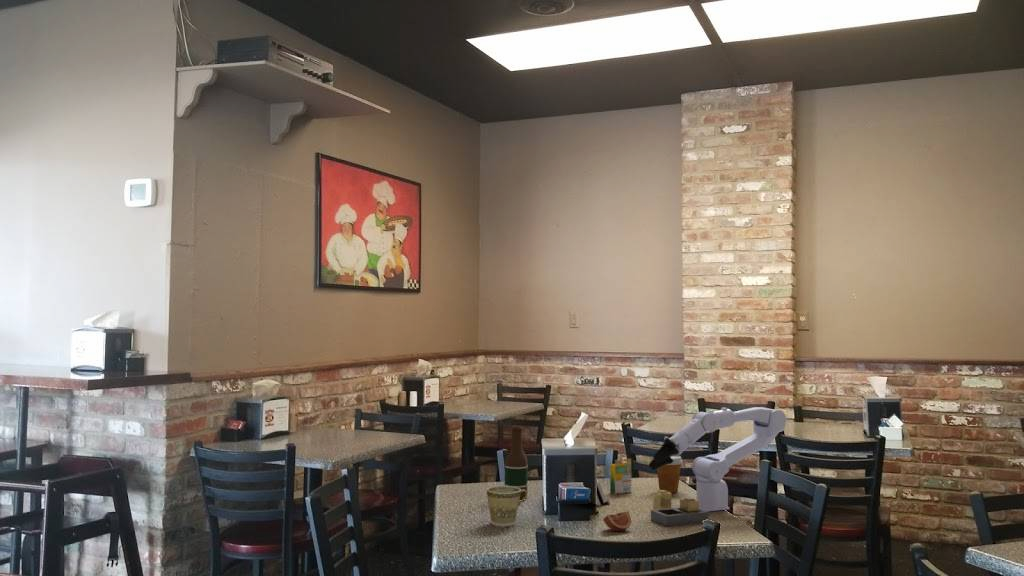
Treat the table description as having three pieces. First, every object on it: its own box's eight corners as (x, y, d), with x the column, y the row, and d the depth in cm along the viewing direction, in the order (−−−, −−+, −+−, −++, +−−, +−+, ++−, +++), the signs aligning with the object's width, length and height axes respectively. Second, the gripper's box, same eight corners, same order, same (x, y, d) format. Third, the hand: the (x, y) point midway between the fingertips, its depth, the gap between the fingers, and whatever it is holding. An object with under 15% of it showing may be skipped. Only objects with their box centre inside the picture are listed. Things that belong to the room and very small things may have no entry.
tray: (692, 515, 244) (692, 494, 244) (708, 522, 237) (708, 500, 237) (650, 520, 238) (651, 498, 238) (666, 526, 231) (666, 504, 231)
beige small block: (663, 509, 252) (664, 489, 252) (671, 512, 248) (671, 491, 248) (653, 510, 250) (653, 490, 250) (660, 513, 246) (660, 492, 247)
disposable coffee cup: (651, 488, 283) (651, 454, 283) (677, 487, 284) (677, 454, 284) (659, 494, 273) (659, 459, 274) (686, 493, 274) (686, 458, 275)
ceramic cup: (497, 530, 225) (498, 494, 225) (479, 522, 233) (480, 488, 233) (535, 524, 232) (536, 489, 232) (517, 516, 240) (517, 483, 240)
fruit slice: (613, 535, 221) (613, 517, 221) (597, 529, 227) (597, 512, 227) (635, 531, 226) (635, 513, 226) (619, 525, 231) (619, 508, 232)
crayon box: (626, 490, 279) (626, 457, 279) (631, 492, 276) (632, 458, 276) (609, 492, 275) (609, 458, 275) (615, 494, 272) (615, 460, 273)
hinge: (611, 504, 257) (602, 475, 256) (599, 510, 256) (589, 481, 255) (587, 493, 273) (578, 466, 272) (575, 499, 271) (567, 472, 270)
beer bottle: (531, 498, 265) (532, 425, 266) (519, 502, 259) (520, 428, 259) (512, 495, 269) (513, 423, 270) (499, 499, 263) (500, 426, 264)
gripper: (671, 436, 259) (640, 460, 255) (680, 420, 247) (648, 446, 242) (686, 452, 256) (655, 478, 252) (696, 437, 244) (664, 464, 240)
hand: (653, 463), depth 247 cm, fingers open, 7 cm apart
